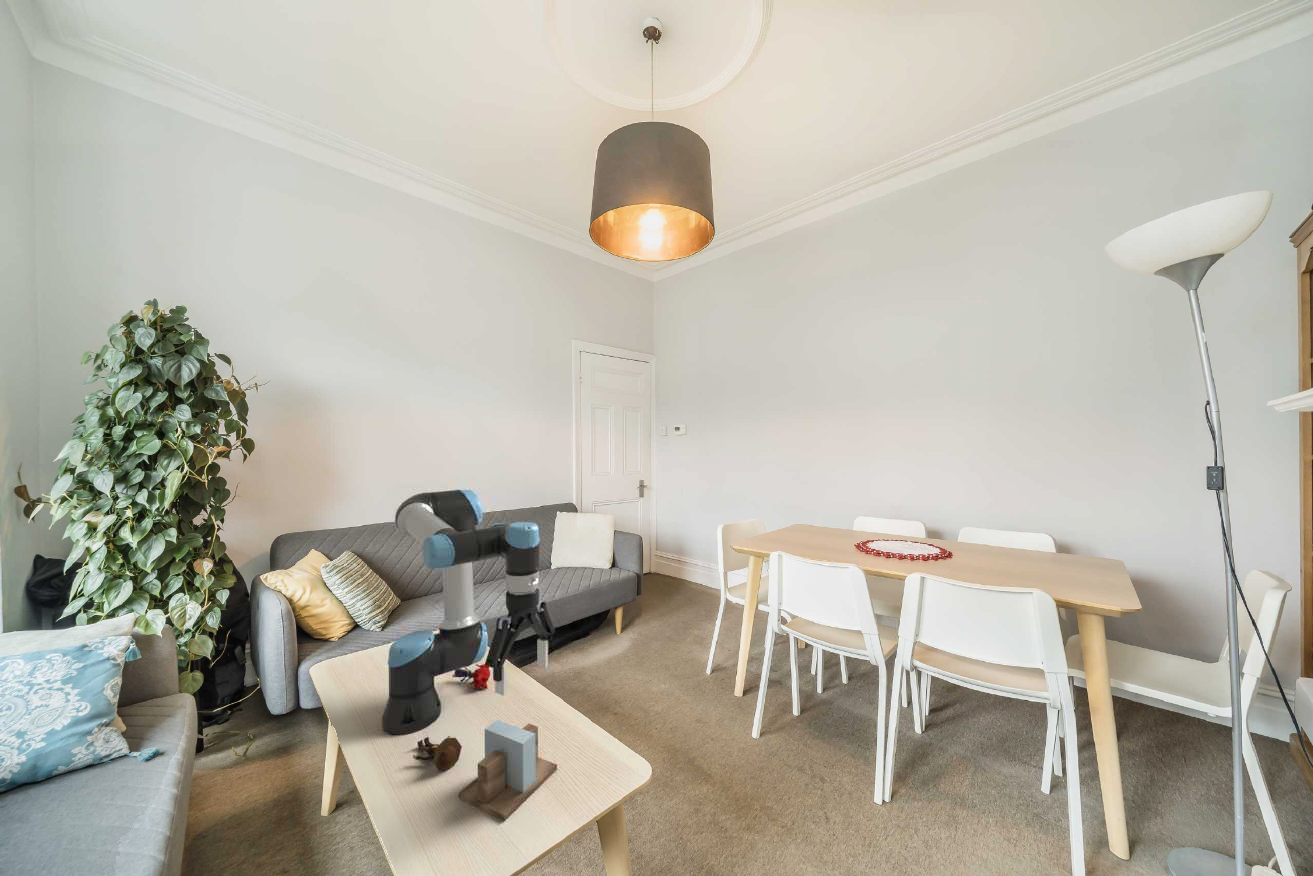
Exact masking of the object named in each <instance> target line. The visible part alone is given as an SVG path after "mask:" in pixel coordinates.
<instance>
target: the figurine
mask: <svg viewBox="0 0 1313 876" xmlns="http://www.w3.org/2000/svg"><path fill="white" fill-rule="evenodd" d="M475 666H476V667H478V668H476V669H474V670H470V669H469V668H468V667H463V668H464V669H462V668H460V669H456V670H454V674H452V678H462V679H459V680H460V682H461V683H463V682H464V681H465V682H468V681H469V680H471V679H473V681H471V682H470V683H469V685H473V690H479V688H480V687H481V688H483V689H485V690H488V689H489V687H488V683H487V682H488V681H489V679H490V676H491V670H490V667H488V666H486V665H485V663H483V664H482V665H481V664H480V665H479V664H477V663H475ZM466 678H467V679H466Z"/></svg>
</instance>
